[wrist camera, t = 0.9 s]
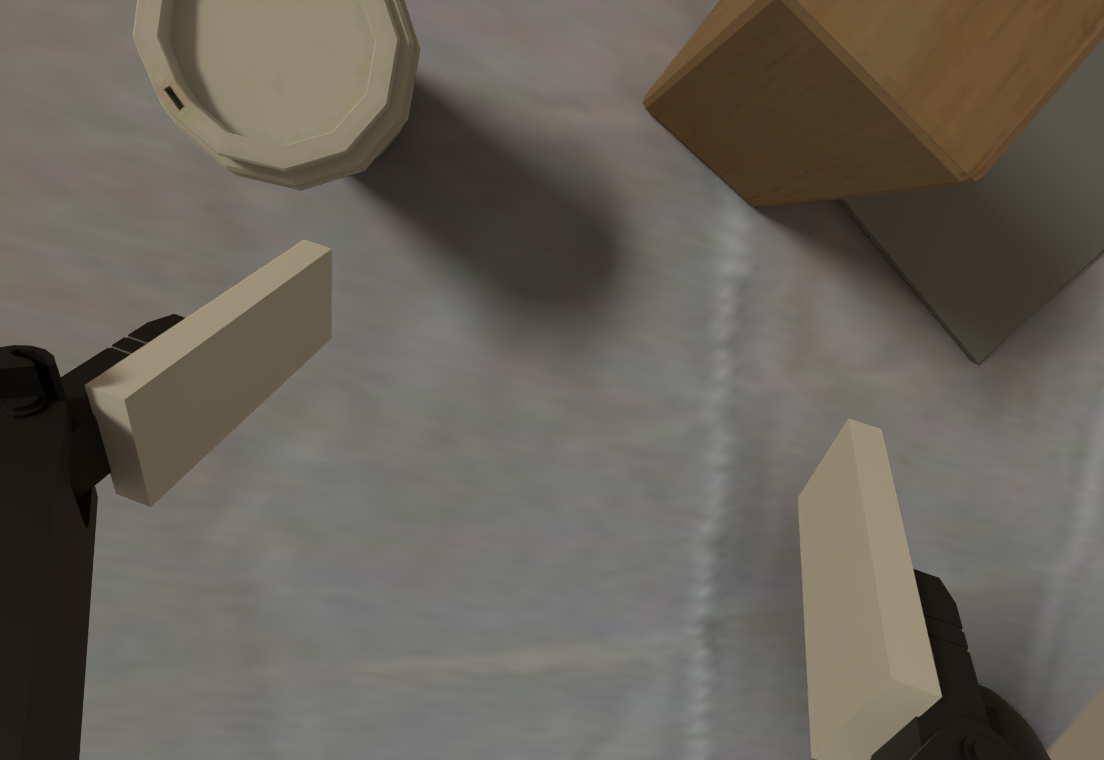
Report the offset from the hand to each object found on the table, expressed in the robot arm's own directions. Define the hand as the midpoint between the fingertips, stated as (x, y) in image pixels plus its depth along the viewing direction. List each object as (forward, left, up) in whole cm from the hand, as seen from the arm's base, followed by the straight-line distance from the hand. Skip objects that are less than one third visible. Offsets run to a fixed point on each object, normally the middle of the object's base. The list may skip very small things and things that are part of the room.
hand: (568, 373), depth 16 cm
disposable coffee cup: (+15, 0, -26) cm, 30 cm away
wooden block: (-1, -18, -26) cm, 32 cm away
